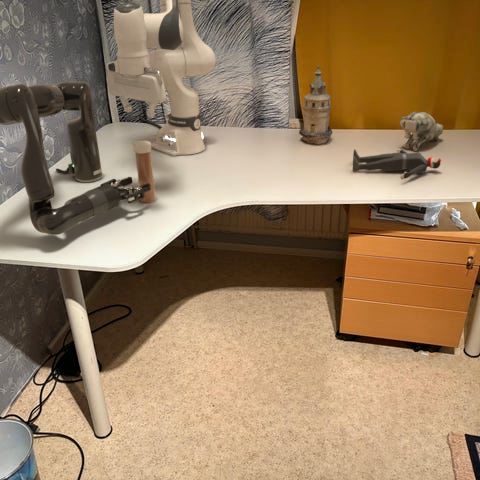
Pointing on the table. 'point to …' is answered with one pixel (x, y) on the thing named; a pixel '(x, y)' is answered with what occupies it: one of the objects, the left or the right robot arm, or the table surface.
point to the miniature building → (316, 112)
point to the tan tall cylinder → (145, 175)
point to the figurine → (420, 129)
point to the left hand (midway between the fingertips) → (140, 182)
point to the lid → (142, 147)
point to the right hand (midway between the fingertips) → (139, 114)
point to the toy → (396, 162)
